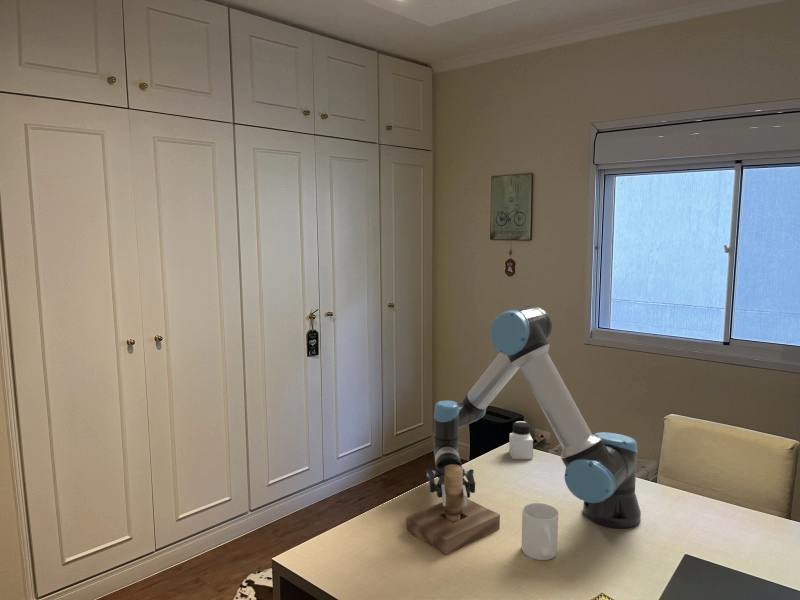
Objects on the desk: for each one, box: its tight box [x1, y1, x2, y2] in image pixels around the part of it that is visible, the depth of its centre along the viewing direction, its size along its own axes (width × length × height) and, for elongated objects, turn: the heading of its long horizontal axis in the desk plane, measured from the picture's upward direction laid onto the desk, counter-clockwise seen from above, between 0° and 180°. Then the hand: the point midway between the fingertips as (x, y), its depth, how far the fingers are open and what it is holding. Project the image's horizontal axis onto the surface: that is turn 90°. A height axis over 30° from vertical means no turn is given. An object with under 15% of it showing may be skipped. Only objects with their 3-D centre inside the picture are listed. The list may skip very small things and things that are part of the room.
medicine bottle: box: [508, 420, 534, 460], centre depth 206 cm, size 7×7×12 cm
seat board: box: [405, 498, 501, 556], centre depth 155 cm, size 15×20×4 cm
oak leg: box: [444, 464, 464, 523], centre depth 154 cm, size 5×5×16 cm
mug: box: [521, 502, 559, 561], centre depth 142 cm, size 9×12×11 cm
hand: (455, 500), depth 149 cm, fingers closed on oak leg, 5 cm apart
